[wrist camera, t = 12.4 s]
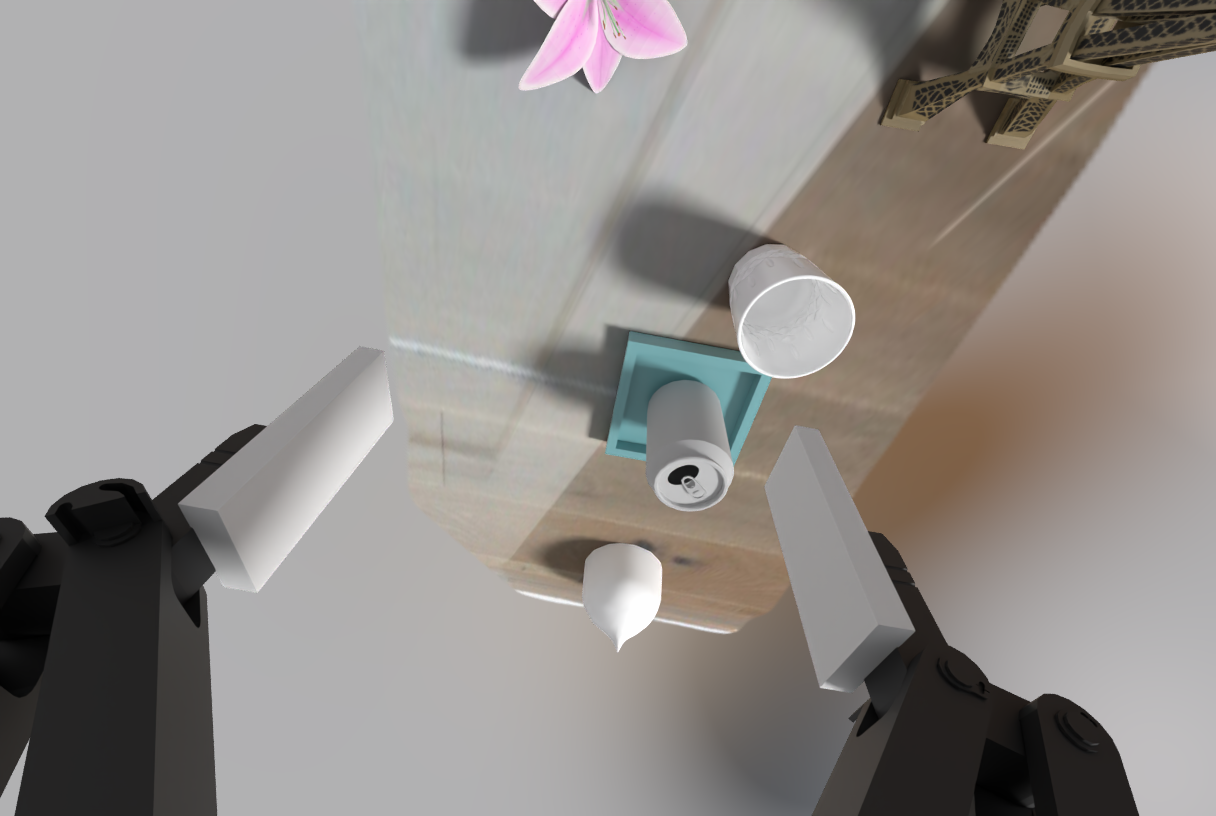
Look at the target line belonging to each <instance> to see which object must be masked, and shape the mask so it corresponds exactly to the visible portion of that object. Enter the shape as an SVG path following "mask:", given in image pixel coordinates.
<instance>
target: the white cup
mask: <svg viewBox="0 0 1216 816" xmlns="http://www.w3.org/2000/svg"><path fill="white" fill-rule="evenodd" d="M728 285H729V299H730V308H731V313H732V320H733V324H734V328H735V333H736V337H737V342H738V346H739V350H740V352H741V354H742V356H743V358H744V359H745V361H746V362H747V363H748V364H749V365H750V366H751V367H752V368H754V369H755V370H756V371H758V372H760V373H762V374H764V375H767V376H770V377H775V378H796V377H801V376H805V375H808V374H811V373H813V372H816V371H818V370H820V369H821V368H823V367H825V366H826V365H828V364H829V363H830V362H832V361H833V360H834V359H835V358H836V357H837V356H838V355H839V354H840V353H841V352H842V351H843V349H844V348H845V346H846V345H847V343H848V342H849V340H850V338H851V335H852V332H853V329H854V324H855V311H854V306H853V303H852V301H851V299H850V297H849V295H848V294H847V292H846V291H845V290H844V289H843V288H842V287H841V286H840V285H838V284H837V283H836V282H835V281H834V280H833V279H831V278H830V277H829V276H828V275H827V274H826V273H825V272H823V271H822V270H821V269H820V268H819V267H818V266H816V265H815V264H814V263H813V262H811V261H810V260H808V259H807V258H806V257H804V256H803V255H801V254H800V253H798V252H796V251H795V250H793V249H791V248H790V247H788V246H786V245H779V244H765V245H763V246H760V247H758V248H755V249H753V250H750V251H748V252H747V253H746V254H745V255H744V256H743V257H742V258H741V259H740V260H739V261H738V262H737V263H736V264H735V266H734V268H733V271H732V273H731V276H730V278H729V280H728Z"/></svg>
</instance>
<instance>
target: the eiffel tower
mask: <svg viewBox="0 0 1216 816" xmlns="http://www.w3.org/2000/svg"><path fill="white" fill-rule="evenodd" d="M1043 5H1049V6H1053V7H1057V8H1061V9H1065V10H1069V13H1068V15H1067V17H1066V18H1065V20H1064V22H1063V24H1062V26H1061V27H1060V29H1059V31H1058V33H1057V35H1056V37H1055V38H1054V40H1053V42H1052V43H1051V44H1049V45H1046V46H1043V47H1040V48H1037V49H1034V50H1032V51H1029V52H1026V53H1023V54H1020V55H1018V56H1015V57H1014V55H1015V54H1016V52H1017V50H1018V48H1019V46H1020V44H1021V42H1022V40H1023V38H1024V36H1025V34H1026V32H1027V30H1028V28H1029V26H1030V25H1031V23H1032V21H1033V19H1034V17H1035V15H1036V13H1037V11H1038V9H1039V7H1040V6H1043ZM1116 20H1118V21H1117V23H1116V25H1115V26H1114V28H1113V30H1112V31H1110V29H1111V27H1112V26H1113V24H1114V22H1115V21H1116ZM1211 51H1216V0H1003V4H1002V7H1001V10H1000V13H999V16H998V20H997V23H996V26H995V28H994V31H993V33H992V35H991V37H990V38H989V40H988V42H987V43H986V45H985V47H984V48H983V50H982V51H981V53H980V54H979V56H978V57H977V59H976V61H975V62H974V63H973V65H972V66H971V68H970V69H969V70H968V71H965V72H961V73H957V74H953V75H949V76H945V77H941V78H937V79H933V80H929V81H925V82H918V81H912V80H903V79H899V80H898V82H897V85H896V87H895V90H894V92H893V94H892V97H891V99H890V102H889V104H888V107H887V109H886V111H885V114H884V116H883V119H882V121H881V124H880V125H883V126H889V127H895V128H900V129H906V130H912V131H918V132H919V129H920V127H921V125H924V123H925V122H926V121H927V120H929V119H930V118H932V117H933V116H935V115H936V114H938V113H939V112H941V111H942V110H944V109H945V108H947V107H948V106H950V105H951V104H953V103H954V102H956V101H957V100H959V99H960V98H962V97H963V96H965V95H966V94H968V93H969V92H971V91H974V90H980V91H988V92H995V93H1002V94H1008V95H1014V96H1019V97H1022V98H1021V99H1017V98H1009V99H1008V101H1007V103H1006V105H1005V107H1004V108H1003V110H1002V112H1001V114H1000V116H999V118H998V120H997V122H996V123H995V125H994V127H993V129H992V131H991V133H990V135H989V137H988V138H987V140H986V142H985V143H989V144H995V145H1001V146H1007V147H1013V148H1019V149H1025V147H1026V145H1027V144H1028V142H1029V140H1030V138H1031V137H1032V135H1033V133H1034V132H1035V130H1036V128H1037V126H1038V125H1039V124H1040V122H1041V121H1042V120H1043V119H1044V117H1045V116H1046V115H1047V114H1048V112H1049V111H1050V109H1051V108H1052V107H1053V105H1054V104H1055V103H1056V101H1057V100H1061V101H1069V102H1070V100H1071V98H1072V96H1073V94H1074V92H1075V90H1076V88H1078V87H1079V86H1081V85H1082V84H1084V83H1087V82H1090V81H1092V80H1095V79H1097V78H1099V79H1107V80H1116V81H1125V80H1127V79H1130V78H1132V77H1135V75H1136V73H1137V72H1138V70H1139V68H1140V66H1141V64H1147V63H1152V62H1158V61H1163V60H1169V59H1174V58H1179V57H1185V56H1190V55H1196V54H1201V53H1207V52H1211ZM1040 71H1043V72H1040Z"/></svg>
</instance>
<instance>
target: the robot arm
mask: <svg viewBox="0 0 1216 816" xmlns="http://www.w3.org/2000/svg"><path fill="white" fill-rule="evenodd" d="M393 420H394V419H393V412H392V405H391V397H390V390H389V383H388V376H387V369H386V362H385V354H384V351H382V350H377V349H371V348H366V347H358V348H357V349H356V350H355V351H354V352H353V353H351V354H350V355H349V356H348V357H347V358H346V359H344V360H343V361H342V362H341V363H340V364H339V365H337V366H336V367H335V368H334V369H333V370H332V371H331V372H329V373H328V374H327V375H326V376H325V377H324V378H322V379H321V380H320V381H319V382H318V383H317V384H316V385H314V386H313V387H312V388H311V389H310V390H309V391H307V392H306V393H305V394H304V395H303V396H302V397H300V398H299V399H298V400H297V401H296V402H295V403H294V404H293V405H291V406H290V407H289V408H288V409H287V410H285V411H284V412H283V413H282V414H281V415H280V416H279V417H278V418H276V419H275V420H274V421H273V422H272V423H270V425H268V426H264V425H258V424H254V425H252V426H250V427H248V428H246V429H244V430H242V431H239V432H237V433H235V434H233V435H231V436H230V437H229V438H228V439H227V440H225V441H224V442H223V443H222V444H221V445H219V446H218V447H217V448H216V449H215V451H214V452H211V453H210V454H208V455H207V456H206V457H204V458H203V459H202V460H201V463H200V464H199V463H197V464H196V465H195V466H193V467H192V468H191V469H190V470H189V471H187V472H186V473H185V474H184V475H182V476H181V477H180V478H179V479H177V480H176V481H175V482H174V483H173V484H171V485H170V486H169V487H168V488H166V489H165V490H164V491H163V492H162V493H160V494H159V495H158V496H157V497H155V498H154V499H153V500H152V499H151V498H150V496H149V494H148V493H147V491H146V489H145V488H144V486H143V484H141V483H139V482H137V481H135V480H133V479H122V478H116V479H110V480H102V481H98V482H95V483H92V484H88V485H85V486H82V487H80V488H78V489H76V490H74V491H72V492H70V493H68V494H66V495H64V496H63V497H62V498H60V499H59V500H58V501H56V502H55V503H54V504H53V505H52V506H51V507H50V508H49V510H48V512H47V513H46V515H45V517H46V519H47V520H48V521H49V522H50V524H51V525H52V526H53V527H54V528H55V530H56V531H57V532H54V533H42V534H32V533H31V531H30V530H29V529H28V528H27V527H26V526H25V524H24V523H23V522H22V521H20V520H17V519H13V518H10V517H9V518H0V797H1V795H2V793H3V791H4V789H5V787H6V785H7V783H8V781H9V779H10V777H11V775H12V773H13V771H14V769H15V767H16V765H17V763H18V761H19V759H20V757H21V755H22V753H23V751H24V749H25V747H26V744H27V743H28V741H29V739H30V741H29V746H28V751H27V756H26V761H25V766H24V771H23V776H22V781H21V786H20V791H19V796H18V801H17V806H16V811H15V816H217V803H216V781H215V760H214V739H213V718H212V697H211V675H210V654H209V635H208V634H209V633H208V612H207V594H206V591H205V589H204V587H203V584H204V583H205V582H206V581H207V580H208V579H209V578H210V577H211V576H212V574H213V573H214V572H216V574H217V576H218V578H219V580H220V581H221V583H222V585H223V587H226V588H232V589H238V590H244V591H250V592H255V593H257V592H258V591H259V590H260V589H261V588H262V586H263V585H264V584H265V583H266V581H267V580H268V579H269V578H270V576H271V575H272V574H273V573H274V571H275V570H276V569H277V568H278V566H279V565H280V564H281V562H282V561H283V560H284V559H285V557H286V556H287V555H288V553H289V552H290V551H291V550H292V548H293V547H294V546H295V545H296V543H297V542H298V541H299V540H300V538H301V537H302V536H303V535H304V533H305V532H306V531H307V530H308V528H309V527H310V526H311V525H312V523H313V522H314V521H315V519H316V518H317V517H318V515H319V514H320V513H321V512H322V511H323V509H324V508H325V507H326V506H327V504H328V503H329V502H330V501H331V499H332V498H333V497H334V495H335V494H336V493H337V492H338V490H339V489H340V488H341V487H342V485H343V484H344V483H345V482H346V480H347V479H348V478H349V477H350V475H351V474H352V472H353V471H354V470H355V469H356V468H357V466H358V465H359V464H360V463H361V461H362V460H363V459H364V458H365V456H366V455H367V454H368V453H369V451H370V450H371V449H372V447H373V446H374V445H375V444H376V442H377V441H378V440H379V438H380V437H381V436H382V435H383V433H384V432H385V431H386V430H387V428H388V427H389V426H390V425H391V423H392V422H393ZM764 487H765V491H766V494H767V498H768V502H769V505H770V509H771V512H772V516H773V520H774V523H775V527H776V530H777V534H778V538H779V541H780V545H781V549H782V552H783V556H784V559H785V563H786V567H787V570H788V574H789V578H790V581H791V585H792V588H793V592H794V596H795V599H796V603H797V607H798V610H799V614H800V617H801V620H802V625H803V628H804V632H805V635H806V639H807V643H808V646H809V650H810V654H811V657H812V661H813V664H814V668H815V672H816V675H817V679H818V682H819V686H820V688H825V689H831V690H837V691H843V692H849V693H852V692H853V691H854V690H855V689H856V688H857V687H858V686H859V685H861V683H863V682H864V681H865V683H866V686H867V689H868V692H869V694H870V699H869V700H867V701H866V702H865V703H864V704H863V705H862V706H861V707H860V708H859V709H858V710H856V711H855V712H854V713H853V714H852V715H851V716H850V717H849V719H850V720H851V721H852V722H854V721H855V720H856V723H855V725H854V727H853V729H852V731H851V733H850V735H849V737H848V739H847V741H846V744H845V746H844V748H843V750H842V752H841V755H840V757H839V758H838V761H837V763H836V765H835V767H834V769H833V771H832V773H831V776H830V778H829V780H828V782H827V784H826V786H825V788H824V790H823V793H822V795H821V797H820V799H819V801H818V803H817V805H816V808H815V810H814V812H813V814H812V816H1139V813H1138V811H1137V807H1136V804H1135V801H1134V798H1133V794H1132V791H1131V788H1130V786H1129V782H1128V779H1127V776H1126V772H1125V769H1124V767H1123V763H1122V760H1121V757H1120V754H1119V752H1118V750H1117V748H1116V746H1115V744H1114V742H1113V740H1112V738H1111V737H1110V736H1109V734H1108V733H1107V732H1106V731H1105V729H1104V728H1103V727H1102V726H1101V725H1100V723H1099V722H1098V721H1097V720H1095V719H1094V718H1093V717H1092V716H1091V715H1090V714H1089V713H1088V712H1087V711H1085V710H1084V709H1083V708H1081V707H1080V706H1078V705H1077V704H1075V703H1074V702H1072V701H1070V700H1069V699H1066V698H1064V697H1061V696H1059V695H1056V694H1043V695H1042V696H1040V697H1038V698H1037V699H1035V700H1034V701H1032V702H1029V701H1027V700H1025V699H1023V698H1021V697H1018V696H1016V695H1014V694H1012V693H1010V692H1008V691H1006V690H1004V689H1001V688H999V687H997V686H995V685H993V684H991V683H989V681H988V679H987V677H986V676H985V675H984V673H983V672H982V671H981V670H980V668H979V667H978V666H977V665H976V664H975V663H974V662H973V661H972V660H971V659H969V658H968V657H967V656H966V655H965V654H963V653H962V652H960V651H958V650H956V649H955V648H953V647H951V646H948V644H947V643H946V641H945V639H944V637H943V635H942V633H941V631H940V630H939V628H938V626H937V624H936V622H935V620H934V618H933V616H932V614H931V612H930V610H929V609H928V607H927V605H926V603H925V601H924V599H923V597H922V595H921V593H920V592H919V590H918V588H917V587H915V582H914V580H913V578H912V577H911V574H910V573H909V572H907V567H906V565H905V563H904V561H903V559H902V557H901V556H900V554H899V552H898V550H897V549H896V548H895V547H894V546H893V545H892V544H891V543H890V542H889V541H888V540H887V538H886V537H885V536H884V535H883V534H881V533H876V532H869V531H867V529H866V527H865V525H864V523H863V521H862V519H861V517H860V515H859V513H858V510H857V508H856V506H855V504H854V502H853V500H852V498H851V496H850V494H849V492H848V490H847V488H846V486H845V483H844V481H843V479H842V477H841V475H840V473H839V471H838V469H837V467H836V465H835V463H834V461H833V459H832V456H831V454H830V452H829V450H828V448H827V446H826V444H825V442H824V440H823V438H822V436H821V434H820V432H819V430H818V429H813V428H807V427H802V426H796V425H795V426H794V428H793V430H792V432H791V434H790V436H789V438H788V440H787V442H786V444H785V446H784V448H783V450H782V452H781V454H780V456H779V458H778V460H777V462H776V464H775V466H774V468H773V470H772V472H771V474H770V476H769V478H768V480H767V482H766V484H765V486H764Z"/></svg>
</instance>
